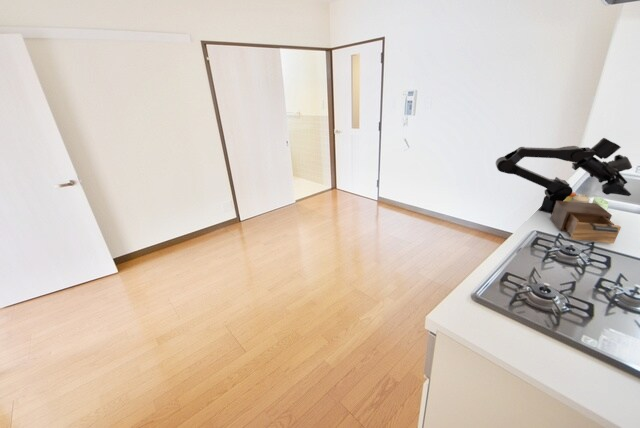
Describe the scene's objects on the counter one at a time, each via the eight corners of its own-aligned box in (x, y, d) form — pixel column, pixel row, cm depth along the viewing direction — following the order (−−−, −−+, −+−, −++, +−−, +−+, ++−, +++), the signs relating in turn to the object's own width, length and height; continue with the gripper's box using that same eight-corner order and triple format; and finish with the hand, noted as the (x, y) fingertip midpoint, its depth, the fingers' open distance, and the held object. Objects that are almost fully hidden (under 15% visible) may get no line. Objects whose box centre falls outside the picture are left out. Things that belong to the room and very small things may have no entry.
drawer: (621, 250, 97) (631, 230, 93) (576, 245, 101) (584, 225, 97) (599, 230, 109) (607, 211, 106) (560, 226, 114) (567, 208, 110)
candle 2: (605, 218, 120) (613, 200, 116) (597, 220, 119) (604, 202, 115) (593, 213, 124) (599, 196, 121) (584, 215, 123) (591, 198, 120)
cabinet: (603, 235, 108) (612, 215, 104) (560, 230, 112) (567, 211, 109) (589, 222, 117) (596, 203, 114) (550, 218, 122) (556, 200, 118)
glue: (562, 204, 135) (565, 193, 132) (564, 201, 137) (568, 191, 135) (572, 206, 132) (576, 195, 129) (574, 204, 134) (578, 193, 132)
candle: (568, 218, 122) (576, 196, 117) (564, 212, 126) (571, 192, 122) (584, 219, 120) (593, 198, 115) (579, 214, 124) (587, 193, 120)
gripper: (620, 165, 104) (657, 189, 103) (613, 143, 116) (647, 164, 114) (588, 183, 113) (622, 206, 112) (585, 161, 125) (616, 181, 123)
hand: (628, 189), depth 115 cm, fingers open, 9 cm apart
